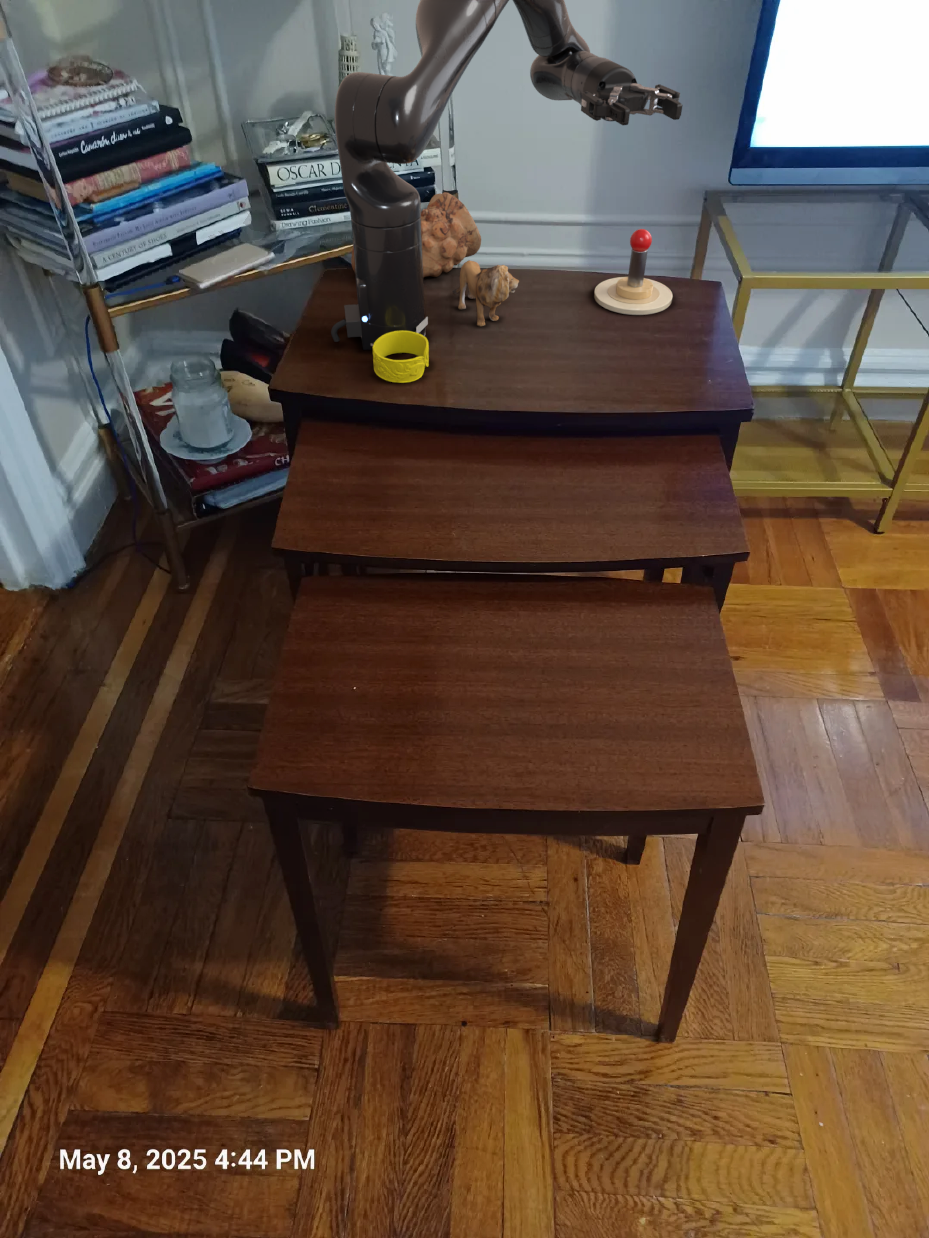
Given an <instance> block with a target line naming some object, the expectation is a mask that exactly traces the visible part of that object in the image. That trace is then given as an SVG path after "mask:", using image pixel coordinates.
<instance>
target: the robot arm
mask: <svg viewBox="0 0 929 1238" xmlns="http://www.w3.org/2000/svg"><path fill="white" fill-rule="evenodd" d="M509 1H510V0H419V2H418V4H417V7H416V12H415V32H416V40H417V43H418V48H419V52H420V56H421V57H420V59H419V61H418V63H417V64H416V66H415V67H414V69H412V71H411V72H410V73H408V74H406V75H404V76H396V75H389V74H380V73H373V72H372V73H371V72H363V71H354V72H351V73H349V74H347V75H346V76H345V77H344V78H343V79H342V81H341V82H340V84H339V86H338V89H337V91H336V96H335V102H334V130H335V139H336V146H337V152H338V159H339V166H340V172H341V181H342V188H343V194H344V196H345V199H346V202H347V204H348V207H349V214H350V215H349V216H350V225H351V233H352V234H351V236H352V248H354V259H355V272H354V277H355V287H356V299H357V304H355V303H354V304H343V307H344V316H345V317H344V318H343V319H341V320H339V321H338V322H336V323H335V324H334V325H333V326H332V327H331V330H330V334H331V338H332V339H333V342H335V343H338V342H340V341H341V339H340V336H339V334H338V331H339V330H340V329H341V328H343V327H346V336H347V338H358V337H359V338H360V341H361V346H362V350H363V351H373V344H374V342H375V341H376V340H377V339H378V338H379V337H381V336H382V335H384V334H386V333H389V332H393V331H411V332H416V333H419V334H421V335H423V336H425V337H426V338H427V330H426V327H427V326H428V324H429V317H428V315H427V316H426V317H425V315H426V314H425V292H424V291H425V289H424V287H425V285H424V278H423V257H422V229H421V211H422V208H421V207H422V205H421V204H422V203H421V197H420V193H419V191H418V190H417V188H416V187H414V186H413V185H412V184H410V183H408V182H407V181H406V180H404V179H403V178H401V177H400V176H399V175H398V174H397V173H396V172H394V170H393V169H392V168H391V167H390V165H389V164H396V165H406V164H411V163H413V162H415V161H416V160H417V159H418V158H419V157H421V155H422V154H423V153H424V151H425V150H426V149H427V147H428V145H429V143H430V141H431V140H432V137H433V135H434V133H435V131H436V128H437V126H438V124H439V122H440V120H441V118H442V116H443V114H444V112H445V109H446V107H447V105H448V103H449V101H450V98H451V96H452V95H453V92H454V91H455V89H456V88H457V85H458V83H459V82H460V80H461V78H462V77H463V75H464V74H465V71H466V70H467V68H468V66H469V65H470V63H471V62H472V60H473V59H474V57H475V55H476V54H477V52H478V51H479V50H480V48H481V47H482V45H483V44H484V42H485V41H486V39H487V38H488V36H489V35H490V33H491V31H492V29H493V27H494V26H495V24H496V22H497V20H498V19H499V16H500V15H501V13H502V11H503V10H504V9H505V7H506V6H507V4H508V3H509ZM512 2H513V4H514V5H515V8H516V10H517V12H518V14H519V17H520V19H521V22H522V24H523V28H524V30H525V33H526V36H527V38H528V42H529V44H530V46H531V48H532V51H534V52H535V53H536V54H537V56H536V57H535V58H534V60H532V63H531V65H530V69H529V76H530V81H531V84H532V85H533V88H534V90H536V91H537V92H538V93H539V94H540V95H541V96H543V97H544V98H547V99H548V100H552V101H575V102H576V103H578V105H580V111H581V112H582V113H583V114H585V115H586V116H588V117H589V118H590V119H592V120H594V121H595V122H597V121H601V120H603V121H606V122H616V123H617V124H619V125H621V126H628V125H629V123H630V115H636V114H638V115H645V116H653V115H655V114H659V115H660V114H661V115H664V116H666V117H668V118H669V119H671V120H674V121H677V120H680V119H681V116H682V111H683V104H682V103H681V102H680V98H681V92H679V91H677V90H674V89H672V88H669V87H667V86H665V85H662V84H659V83H658V84H656V85H654V87H650V86H649V87H648V86H643V85H642V84H640V83H638V81H637V79H636V77H635V74H634V73H633V71H631V70H630V69H629V68H627V67H625V66H623V65H621V64H619V63H617V62H615V61H614V60H613V61H612V60H611V59H609V58H606V57H601V56H598V55H596V54H594V53H592V52H591V49H590V47H589V45H588V43H587V42H586V40H585V39H584V38H583V37H582V35H580V33H579V32H578V31H577V30H576V29H575V27H574V26H573V24H572V21H571V20H570V16H569V12H568V10H567V9H568V8H567V6H566V1H565V0H512ZM648 101H649V102H648ZM648 103H649V106H648V108H645V107H646V106H647V104H648ZM388 163H389V164H388Z"/></svg>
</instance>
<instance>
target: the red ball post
mask: <svg viewBox="0 0 929 1238" xmlns="http://www.w3.org/2000/svg"><path fill="white" fill-rule="evenodd" d="M652 242H653V237H652V235H651V233H650V231H648V230H647V229H644V228H638V229H636V230H635V231H633V233H632V234H631V236H630V238H629V244H630V247H631V251H630V257H629V267H628V274H627V276H625V277H626V278H622V279H620V280H618V282H617V285H616V293H617V294H618V295H619V296H621V297H624V298H627V299H635V300H638V299H645V298H648V297H650V296H651V295H652V292H653V283H652V282H651V281H649V280H647V279H648V278H646V279H644V278H645V274H646V273H645V272H646V266H647V265H646V264H647V260H648V259H647V258H648V251H649V249H650V247H651V245H652Z"/></svg>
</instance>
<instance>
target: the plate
mask: <svg viewBox="0 0 929 1238" xmlns="http://www.w3.org/2000/svg"><path fill="white" fill-rule="evenodd" d="M626 277H627V276H618V277H613V278H609V279H605V280H603V281H601V282H599V283H598V284H597V285H596V286H595V288H594V290H593V291H594V292H593V298H594V301H595V302H596V303H597V304H598V305H599V306H600V307H603V308H604V309H606V310H607V311H611V312H614V313H618V314H623V315H631V316H644V315H645V316H646V315H653V314H656V313H660V312H663V311H665V310H666V309H668V308H669V307H670V306H671V304H672V302H673V297H674V296H673V292H672V291H671V289H670V288H669V287H668V286H667V285H665V284H664V283H661V282H659V281H656V280H654V279H651V278H645V277H644V279H647V280H649V281H651V282H652V283H653V292H652V295H651V296H650V297H648V298H645V299H638V300H635V299H627V298H624V297H621V296H619V295H618V294H617V293H616V285H617V282H618V280H620V279H622V278H626Z"/></svg>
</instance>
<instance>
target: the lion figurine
mask: <svg viewBox="0 0 929 1238" xmlns="http://www.w3.org/2000/svg"><path fill="white" fill-rule="evenodd" d="M519 283H520V280H519V279H517V278H515V277H514V276H513V275H512V273H510V272H509V267H508V266H507V265H505V264H501V265H500V264H497V265H494V266H491V267H488V268H486V269H485V268H484V269H481V265H480V264H479V263H478V262H477V261H474V260H469V259H468V260H467V261H466V262H464V263H463V264H462V266H461V268H460V271H459V287H457V288H455V289H452V293H453V294H455V295H456V294H459V301H458V307H457V308H458V310H465V309H467V306H466V303H465V297H466V295H465V294H466V290H467V298H468V299H470V300H474V299H475V306H476V317H477V320H476V326H478V327H484V326H486V322H485V321H486V319H485V316H484V315H485V314H484V311H485V310H484V309H485V307H487V308H489V311H488V312H489V313H488V317H489V320H491V321H493V322H497V321H498V320H499V318H500V316H498V315H496V310H497V307H499V306H500V305H501V304H502V303H503V302H505V301H506V300H507V299H508V298H509V296H510V295H509V294H510V293H512V294H515V292H516V289H517V288H518V287H519V286H518V285H519ZM467 287H468V288H467Z"/></svg>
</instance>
